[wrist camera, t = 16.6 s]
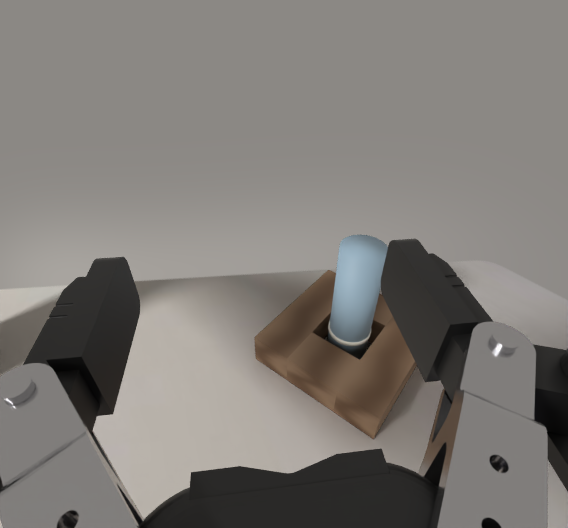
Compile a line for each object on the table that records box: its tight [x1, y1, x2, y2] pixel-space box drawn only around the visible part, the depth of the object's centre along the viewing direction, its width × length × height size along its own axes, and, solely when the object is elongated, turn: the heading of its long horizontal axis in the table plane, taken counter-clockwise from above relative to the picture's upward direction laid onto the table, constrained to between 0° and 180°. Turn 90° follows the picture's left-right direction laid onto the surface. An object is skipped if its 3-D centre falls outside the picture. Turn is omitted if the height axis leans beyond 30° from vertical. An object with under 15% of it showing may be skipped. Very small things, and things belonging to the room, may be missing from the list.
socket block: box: [255, 270, 417, 439], centre depth 44 cm, size 16×16×4 cm
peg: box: [327, 235, 388, 360], centre depth 40 cm, size 5×5×16 cm
